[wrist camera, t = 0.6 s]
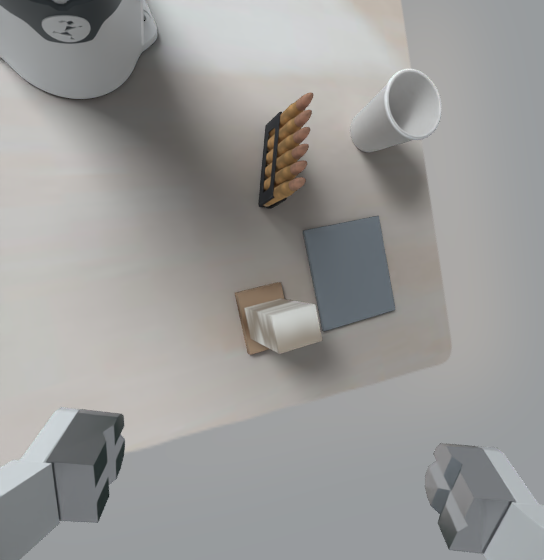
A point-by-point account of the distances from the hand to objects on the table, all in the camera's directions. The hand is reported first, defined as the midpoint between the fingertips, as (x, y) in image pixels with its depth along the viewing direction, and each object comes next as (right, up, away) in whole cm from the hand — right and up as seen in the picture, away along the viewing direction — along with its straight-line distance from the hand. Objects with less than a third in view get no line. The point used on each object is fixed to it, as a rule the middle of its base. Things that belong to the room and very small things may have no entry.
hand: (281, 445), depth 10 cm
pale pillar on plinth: (-1, -1, +41) cm, 41 cm away
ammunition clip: (-1, +19, +41) cm, 45 cm away
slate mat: (+11, +5, +45) cm, 47 cm away
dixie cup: (+13, +26, +46) cm, 54 cm away
